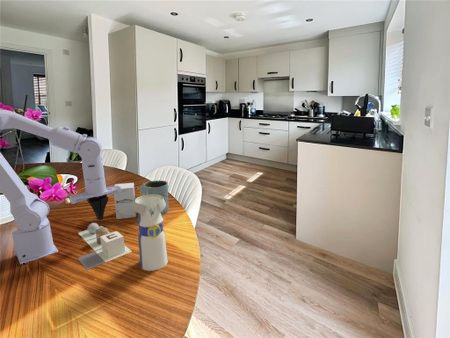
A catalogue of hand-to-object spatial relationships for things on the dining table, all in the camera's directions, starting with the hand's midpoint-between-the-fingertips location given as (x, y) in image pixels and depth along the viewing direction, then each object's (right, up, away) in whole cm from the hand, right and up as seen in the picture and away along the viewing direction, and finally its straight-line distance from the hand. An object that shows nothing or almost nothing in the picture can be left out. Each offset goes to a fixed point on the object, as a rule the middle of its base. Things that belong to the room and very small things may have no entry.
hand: (100, 218), depth 86 cm
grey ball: (-6, -6, +8) cm, 12 cm away
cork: (0, -8, +2) cm, 8 cm away
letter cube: (+6, -9, -4) cm, 12 cm away
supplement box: (0, -3, +23) cm, 23 cm away
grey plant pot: (+12, -2, +27) cm, 29 cm away
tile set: (0, -8, +2) cm, 8 cm away
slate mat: (+1, -11, -8) cm, 14 cm away
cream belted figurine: (+20, -11, -10) cm, 25 cm away
